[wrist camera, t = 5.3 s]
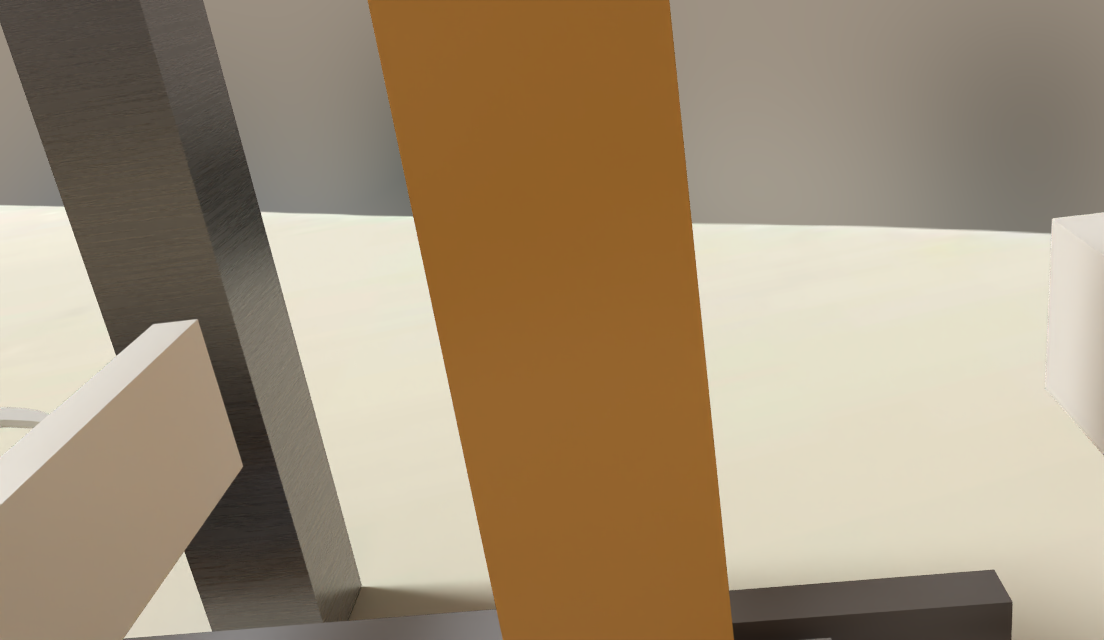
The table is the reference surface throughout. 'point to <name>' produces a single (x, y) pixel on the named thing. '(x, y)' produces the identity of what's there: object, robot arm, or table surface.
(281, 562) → the hook
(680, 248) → the handle
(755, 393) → the table surface
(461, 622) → the track
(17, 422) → the pliers
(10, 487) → the robot arm
